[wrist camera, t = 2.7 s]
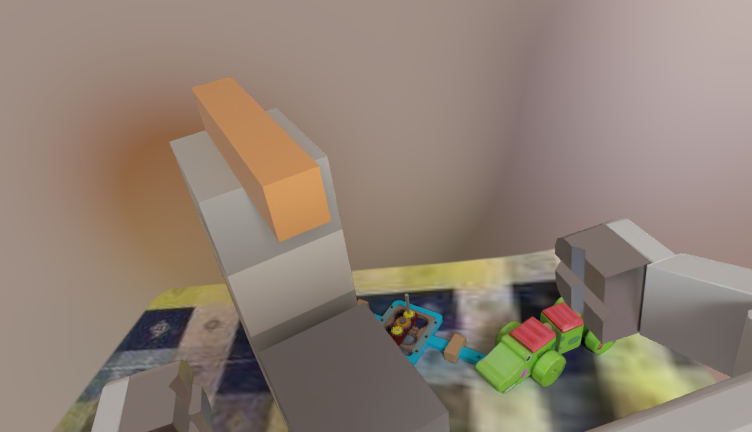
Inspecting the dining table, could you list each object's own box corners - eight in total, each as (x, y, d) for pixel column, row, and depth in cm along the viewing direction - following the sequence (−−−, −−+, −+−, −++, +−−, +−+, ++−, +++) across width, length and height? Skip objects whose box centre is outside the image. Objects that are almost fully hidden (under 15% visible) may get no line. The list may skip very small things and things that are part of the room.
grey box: (351, 576, 41) (318, 487, 33) (294, 446, 51) (258, 352, 43) (455, 507, 44) (448, 411, 36) (383, 397, 54) (364, 302, 46)
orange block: (279, 242, 31) (262, 186, 29) (205, 130, 46) (191, 88, 44) (331, 221, 32) (319, 166, 30) (243, 118, 47) (230, 76, 45)
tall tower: (287, 430, 52) (198, 202, 36) (253, 351, 61) (169, 141, 45) (374, 384, 56) (327, 156, 39) (329, 316, 65) (276, 108, 49)
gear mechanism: (464, 404, 53) (497, 340, 59) (462, 371, 50) (498, 306, 56) (310, 339, 63) (353, 289, 69) (301, 307, 60) (347, 258, 66)
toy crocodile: (503, 417, 51) (504, 378, 47) (462, 370, 56) (460, 332, 52) (643, 328, 57) (653, 288, 54) (596, 294, 62) (602, 255, 59)
